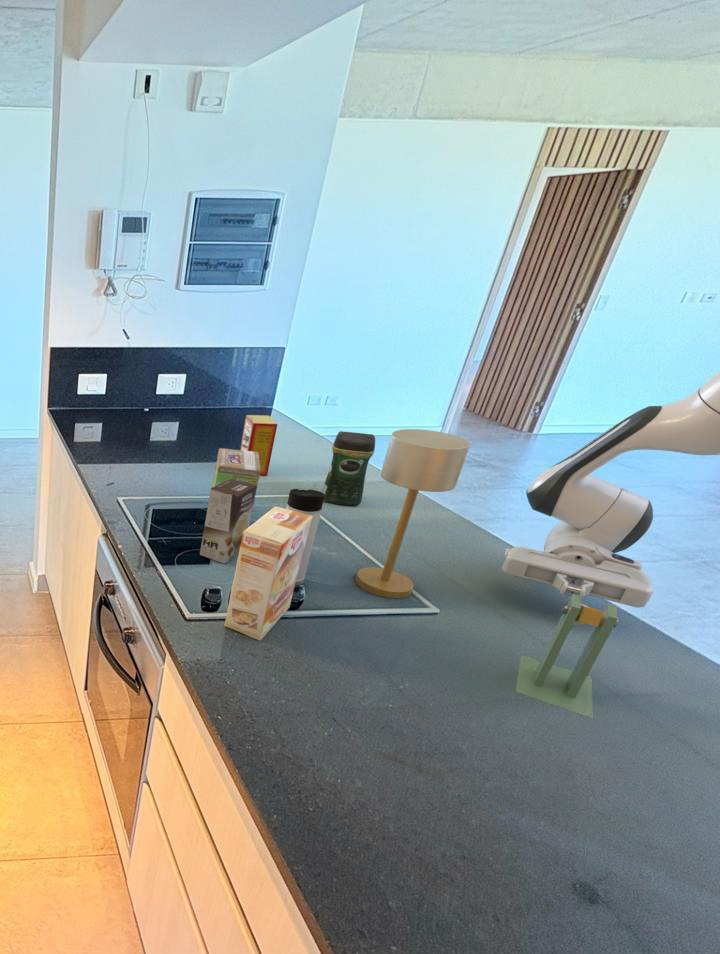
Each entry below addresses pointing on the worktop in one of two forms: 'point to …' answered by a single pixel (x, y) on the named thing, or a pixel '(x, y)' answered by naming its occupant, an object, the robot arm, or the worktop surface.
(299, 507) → the travel mug
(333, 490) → the coffee jar
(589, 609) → the lever
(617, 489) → the robot arm
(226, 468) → the tea box
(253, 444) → the baking soda box
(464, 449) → the table lamp
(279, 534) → the coffeecake box
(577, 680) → the green post frame stand
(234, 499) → the coffee box
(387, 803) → the worktop surface
